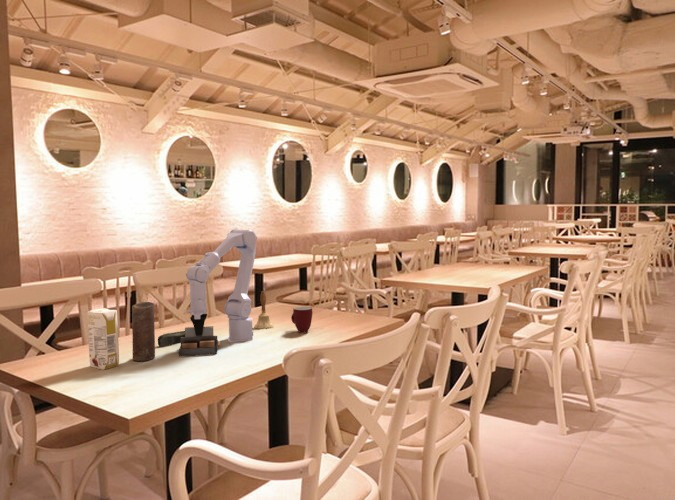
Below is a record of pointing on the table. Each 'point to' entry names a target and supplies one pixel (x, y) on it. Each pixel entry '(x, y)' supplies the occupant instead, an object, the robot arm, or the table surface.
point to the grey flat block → (206, 332)
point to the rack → (198, 346)
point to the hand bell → (263, 315)
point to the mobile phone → (170, 338)
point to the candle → (143, 331)
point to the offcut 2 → (206, 344)
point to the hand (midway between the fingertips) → (199, 334)
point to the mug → (302, 318)
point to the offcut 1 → (189, 345)
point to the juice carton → (103, 338)
